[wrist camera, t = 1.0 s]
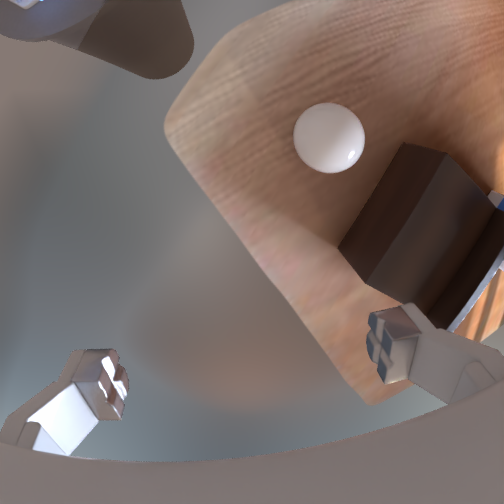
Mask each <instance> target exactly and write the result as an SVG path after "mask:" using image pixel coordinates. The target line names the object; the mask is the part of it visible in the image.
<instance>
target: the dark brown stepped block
mask: <svg viewBox="0 0 504 504" xmlns="http://www.w3.org/2000/svg"><path fill="white" fill-rule="evenodd" d="M338 250H339V251H340V252H341V254H342V255H343V256H344V257H345V259H346V260H347V261H348V262H349V264H350V265H351V266H352V267H353V269H354V270H355V271H356V273H357V274H358V275H359V276H360V278H361V279H362V280H363V281H364V283H365V284H367V285H369V286H371V287H373V288H375V289H377V290H378V291H380V292H382V293H384V294H386V295H388V296H390V297H391V298H393V299H395V300H397V301H399V302H401V303H402V304H407V303H414V304H415V305H416V306H417V307H418V309H419V310H420V311H421V312H422V313H423V314H424V315H425V316H426V317H427V318H428V320H429V321H430V322H431V323H432V324H433V325H434V327H435V328H436V329H440V328H441V329H444V330H446V331H449V332H451V333H453V332H454V330H455V329H456V328H457V327H458V325H459V324H460V323H461V321H462V320H463V319H464V317H465V316H466V315H467V313H468V312H469V311H470V309H471V308H472V307H473V305H474V304H475V302H476V301H477V299H478V298H479V297H480V295H481V294H482V292H483V291H484V289H485V288H486V286H487V285H488V283H489V282H490V280H491V279H492V277H493V276H494V274H495V273H496V271H497V269H498V268H499V266H500V265H501V263H502V261H503V260H504V211H502V210H500V209H498V208H496V207H495V205H494V204H493V203H492V202H491V201H490V199H489V198H488V197H487V196H486V195H485V194H484V192H483V191H482V190H481V189H480V188H479V187H478V186H477V184H476V183H475V182H474V181H473V180H472V179H471V178H470V177H469V176H468V174H467V173H466V172H465V171H464V170H463V169H462V168H461V167H460V166H459V165H458V164H457V163H456V162H455V161H454V160H453V159H452V158H451V157H450V156H449V155H448V154H447V153H444V152H441V151H437V150H433V149H430V148H426V147H422V146H418V145H414V144H410V143H405V142H403V144H402V146H401V147H400V149H399V151H398V152H397V154H396V156H395V157H394V159H393V161H392V163H391V164H390V166H389V168H388V169H387V171H386V173H385V174H384V176H383V178H382V179H381V181H380V182H379V184H378V186H377V187H376V189H375V191H374V192H373V194H372V195H371V197H370V199H369V200H368V202H367V203H366V205H365V207H364V208H363V210H362V211H361V213H360V215H359V216H358V218H357V219H356V221H355V222H354V224H353V225H352V227H351V229H350V230H349V232H348V233H347V235H346V236H345V238H344V239H343V241H342V242H341V244H340V245H339V247H338Z"/></svg>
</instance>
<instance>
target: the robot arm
mask: <svg viewBox="0 0 504 504" xmlns="http://www.w3.org/2000/svg"><path fill="white" fill-rule="evenodd" d="M9 1H11V2H12V3H14V4H16V5H18V6H19V7H21V8H23V9H29V8H30V7H32V6H33V5H35V4H36V3H37V2H38V1H40V0H9ZM41 1H42V0H41ZM368 324H369V326H370V327H371V330H370V331H369V332H368V334H367V339H366V344H367V351H368V354H369V357H370V359H371V360H372V362H374V363H376V364H378V368H377V372H378V373H379V375H380V377H381V379H382V381H383V382H384V384H389V383H392V382H396V381H400V380H403V379H407V378H408V380H410V381H411V382H413V383H415V384H416V385H418V386H419V387H421V388H423V389H424V390H426V391H427V392H429V393H430V394H432V395H434V396H435V397H437V398H439V399H440V400H442V401H443V402H445V403H446V404H448V405H446V406H444V407H442V408H439V409H437V410H434V411H432V412H429V413H426V414H424V415H421V416H418V417H416V418H413V419H410V420H407V421H404V422H401V423H398V424H395V425H392V426H389V427H386V428H383V429H379V430H376V431H373V432H369V433H366V434H362V435H358V436H355V437H351V438H347V439H343V440H339V441H335V442H331V443H326V444H322V445H318V446H313V447H307V448H302V449H297V450H292V451H286V452H279V453H273V454H266V455H260V456H251V457H242V458H232V459H220V460H207V461H184V462H140V461H118V460H104V459H93V458H83V457H76V456H69V455H70V454H71V453H72V452H73V451H74V449H75V448H76V447H77V446H78V445H79V444H80V443H81V441H82V440H83V439H84V438H85V437H86V436H87V435H88V433H89V432H90V431H91V430H92V428H94V426H95V425H96V424H97V423H98V422H99V421H98V420H121V419H122V415H123V411H124V407H125V404H124V403H123V401H122V400H123V399H124V398H125V397H126V396H127V395H128V390H129V379H128V376H127V373H126V370H125V368H124V367H122V366H121V365H120V364H118V362H119V356H118V354H117V351H116V350H114V349H87V350H74V351H72V353H71V355H70V357H69V359H68V361H67V363H66V365H65V367H64V369H63V371H62V373H61V375H60V377H59V379H58V381H57V382H53V383H51V384H50V385H49V386H47V387H46V388H45V389H43V390H42V391H41V392H39V393H38V394H37V395H35V396H34V397H33V398H31V399H30V400H29V401H27V402H26V403H25V404H23V405H22V406H21V407H20V408H18V409H17V410H16V411H14V412H13V413H12V414H10V415H9V416H8V417H7V419H6V421H5V423H4V425H3V427H2V429H1V432H0V504H504V356H503V355H502V354H501V353H500V352H499V351H498V350H497V349H494V348H491V347H489V346H486V345H483V344H481V343H478V342H475V341H473V340H470V339H467V338H465V337H462V336H459V335H457V334H454V333H451V332H449V331H446V330H444V329H441V328H440V329H436V328H435V327H434V326H433V325H432V323H431V322H430V321H429V320H428V319H427V318H426V317H425V315H424V314H423V313H422V312H421V311H420V310H419V309H418V307H417V306H416V305H415V304H414V303H407V304H403V305H400V306H398V307H393V308H389V309H385V310H381V311H376V312H372V313H370V315H369V319H368Z"/></svg>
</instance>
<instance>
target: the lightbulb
mask: <svg viewBox="0 0 504 504" xmlns="http://www.w3.org/2000/svg"><path fill="white" fill-rule="evenodd" d="M293 142H294V146H295V149H296V152H297V154H298V155H299V157H300V158H301V159H302V161H303V162H304V163H305V164H307V165H308V166H309V167H311V168H312V169H314V170H317V171H319V172H323V173H337V172H341V171H344V170H346V169H348V168H350V167H351V166H352V165H354V164H355V163H356V162H357V160H358V159H359V158H360V156H361V154H362V152H363V149H364V145H365V134H364V130H363V127H362V124H361V122H360V121H359V119H358V118H357V116H356V115H355V114H354V113H353V112H352V111H350V110H349V109H348V108H346V107H344V106H342V105H339V104H336V103H319V104H316V105H313V106H311V107H309V108H308V109H306V110H305V111H304V112H303V113H302V114H301V115H300V117H299V118H298V120H297V122H296V124H295V127H294V131H293Z"/></svg>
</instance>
